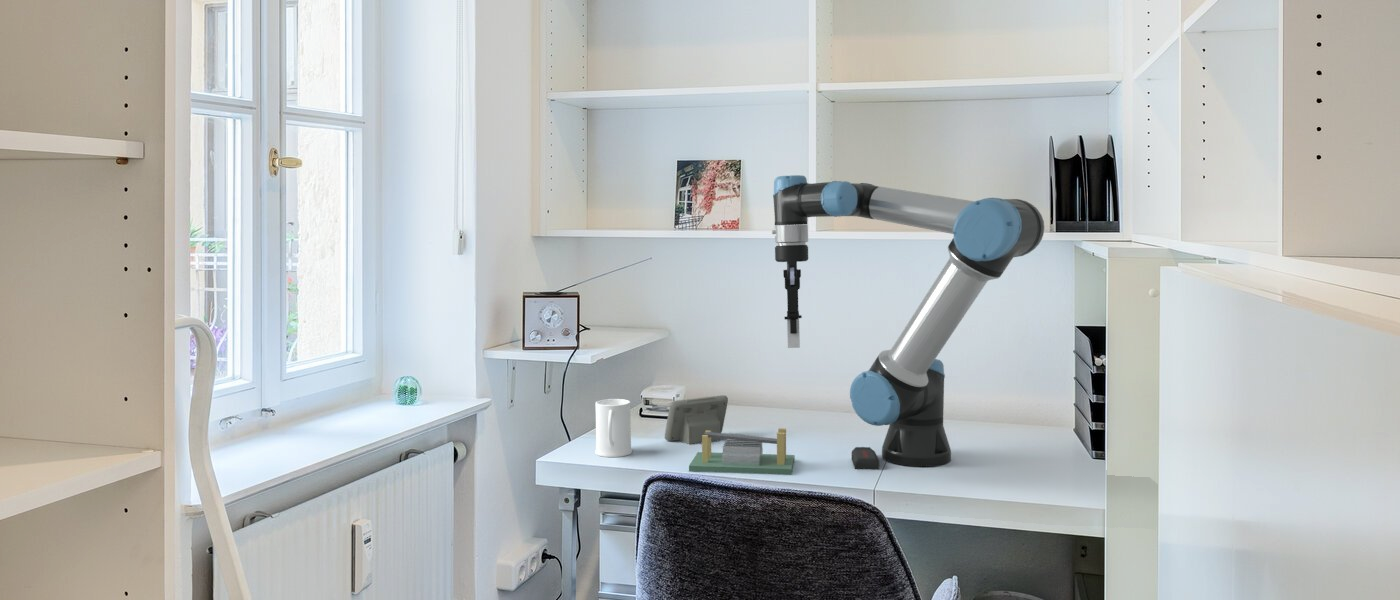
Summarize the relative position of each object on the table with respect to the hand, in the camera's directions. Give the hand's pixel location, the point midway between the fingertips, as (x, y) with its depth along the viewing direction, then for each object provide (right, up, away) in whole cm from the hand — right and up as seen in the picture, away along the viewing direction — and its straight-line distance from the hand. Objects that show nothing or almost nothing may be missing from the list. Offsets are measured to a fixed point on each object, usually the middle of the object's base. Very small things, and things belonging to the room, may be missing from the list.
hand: (793, 347), depth 216 cm
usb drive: (+15, -26, -6) cm, 30 cm away
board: (-12, -26, -8) cm, 30 cm away
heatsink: (-12, -24, -9) cm, 29 cm away
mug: (-42, -25, +2) cm, 49 cm away
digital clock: (-22, -24, +17) cm, 37 cm away
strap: (-12, -20, -9) cm, 25 cm away
